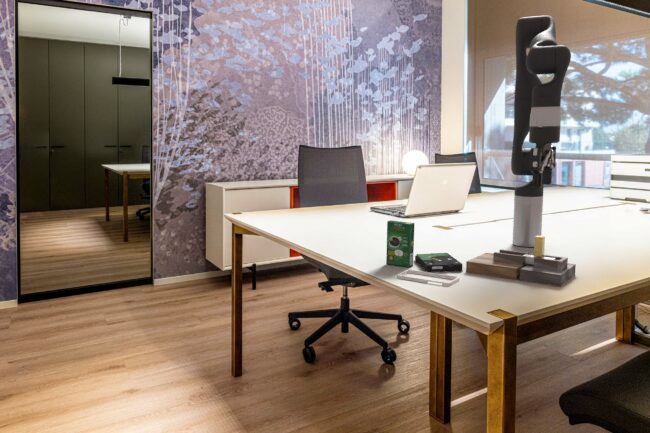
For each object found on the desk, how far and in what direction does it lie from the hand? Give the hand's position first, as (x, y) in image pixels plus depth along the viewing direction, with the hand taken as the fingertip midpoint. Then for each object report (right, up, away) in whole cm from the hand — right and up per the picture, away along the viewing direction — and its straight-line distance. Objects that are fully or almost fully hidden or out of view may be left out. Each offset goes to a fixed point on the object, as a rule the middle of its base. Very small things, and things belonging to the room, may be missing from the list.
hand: (541, 186), depth 142 cm
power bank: (-31, -26, 0) cm, 40 cm away
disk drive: (-25, -23, +14) cm, 37 cm away
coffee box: (-36, -23, +15) cm, 45 cm away
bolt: (-1, -21, 0) cm, 21 cm away
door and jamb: (-5, -24, +4) cm, 25 cm away
